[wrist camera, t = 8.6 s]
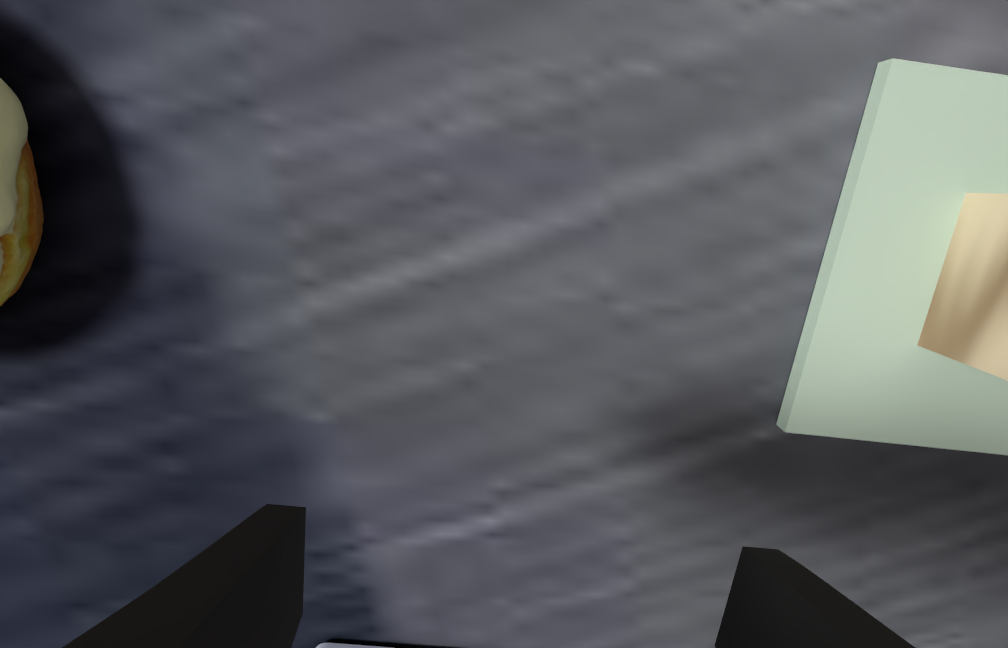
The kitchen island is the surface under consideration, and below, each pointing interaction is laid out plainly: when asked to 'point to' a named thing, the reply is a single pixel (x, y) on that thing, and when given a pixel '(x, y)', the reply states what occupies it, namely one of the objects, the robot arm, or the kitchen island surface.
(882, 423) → the mat
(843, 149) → the kitchen island surface
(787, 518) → the kitchen island surface
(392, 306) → the kitchen island surface
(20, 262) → the decorated donut
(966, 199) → the cube
